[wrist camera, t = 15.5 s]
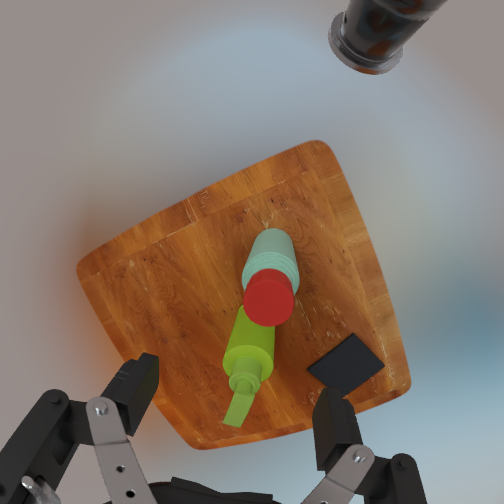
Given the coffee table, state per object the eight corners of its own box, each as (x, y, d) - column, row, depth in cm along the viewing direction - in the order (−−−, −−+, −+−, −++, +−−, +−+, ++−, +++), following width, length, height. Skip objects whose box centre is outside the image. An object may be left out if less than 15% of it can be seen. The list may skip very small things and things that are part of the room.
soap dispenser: (231, 331, 45) (203, 420, 26) (243, 294, 44) (218, 376, 24) (266, 342, 45) (257, 435, 26) (280, 306, 44) (279, 393, 24)
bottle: (270, 220, 41) (264, 253, 22) (300, 245, 41) (317, 297, 23) (245, 249, 42) (220, 303, 24) (275, 273, 42) (272, 342, 24)
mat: (353, 332, 44) (353, 334, 43) (384, 364, 45) (385, 366, 44) (307, 368, 46) (307, 370, 45) (341, 396, 47) (341, 398, 47)
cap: (296, 305, 26) (298, 321, 23) (253, 314, 26) (250, 331, 23) (287, 263, 25) (288, 275, 22) (241, 273, 25) (236, 286, 22)
